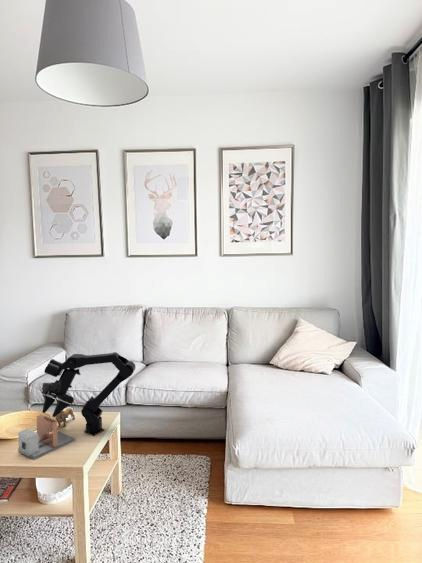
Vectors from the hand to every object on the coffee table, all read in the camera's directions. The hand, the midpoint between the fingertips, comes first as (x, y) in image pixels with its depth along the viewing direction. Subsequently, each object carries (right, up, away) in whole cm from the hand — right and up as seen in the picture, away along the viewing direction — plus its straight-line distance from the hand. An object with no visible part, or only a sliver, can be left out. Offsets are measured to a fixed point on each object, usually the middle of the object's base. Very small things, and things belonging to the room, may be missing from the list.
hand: (48, 414), depth 165 cm
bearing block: (-4, -12, -10) cm, 16 cm away
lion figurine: (+1, -11, +18) cm, 21 cm away
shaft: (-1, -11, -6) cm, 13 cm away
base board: (+1, -12, -3) cm, 13 cm away
